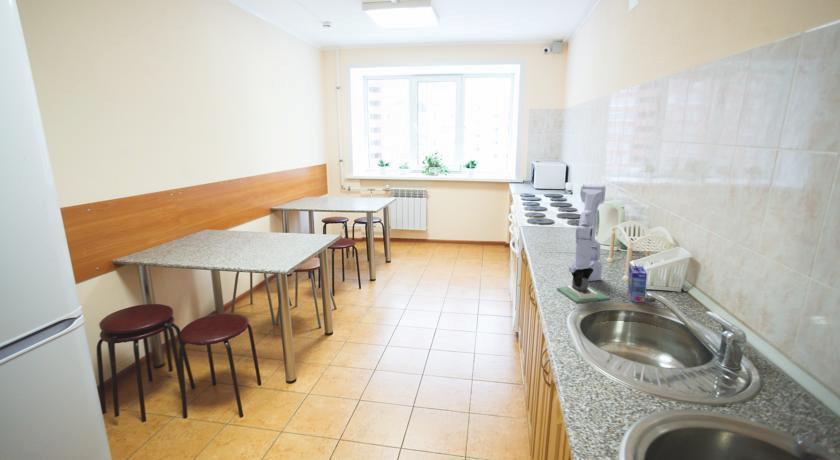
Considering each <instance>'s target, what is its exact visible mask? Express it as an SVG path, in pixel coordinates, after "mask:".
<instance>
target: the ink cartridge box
mask: <svg viewBox="0 0 840 460" xmlns="http://www.w3.org/2000/svg"><path fill="white" fill-rule="evenodd" d="M647 277H648V273H647V271H646V270H645V268H644V266H640V265H639V266H638V265H637V264H636V263H635V262H633V265H629V266H628V278H627V295H628V298H629V300H630V302H638V303H646V292H647V291H646V290H647V279H648V278H647Z"/></svg>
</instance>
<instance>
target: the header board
mask: <svg viewBox="0 0 840 460" xmlns="http://www.w3.org/2000/svg"><path fill="white" fill-rule="evenodd" d="M556 290H557V291H558V292H559V293H561V294H562V295H564V296H566V297H567V298H568V299H569V300H571V301H573V302H574V303H575V304H579V303H588V301H590V302H598V300H600V301H606V300H607V301H608V300H610V299H611V298H610V296H608V295H606V294H604V293H603V292H601V291H599V290H598V289H596V288H594V287H592V286H591V285H589V284H588V293H587V294H584V293H582V292H578V291H576V290H575V289H573V288H572V284H571V285H566V286H564V287H556Z"/></svg>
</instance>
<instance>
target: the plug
mask: <svg viewBox="0 0 840 460" xmlns="http://www.w3.org/2000/svg"><path fill="white" fill-rule="evenodd" d="M571 285H572V288H573V289H575V290H576V291H578V292H582V293H584V294H587V293H588V285H589V281H588V279H587V278H584V277H583V278H582V282H581V286H580V287H577V286H575V282H574V278H573V277H572V283H571Z"/></svg>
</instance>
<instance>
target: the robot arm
mask: <svg viewBox="0 0 840 460" xmlns="http://www.w3.org/2000/svg"><path fill="white" fill-rule="evenodd" d="M605 196H606V186H605V185H604V184H603V185H600V184H599V185H597V184H596V185H595V184H594V185H593V184H591V185H590V184H582V185H581V187H580V200H581V202H582V203H584V209H583V212H581V213H580V216H579V217H580V218H579V221H578V226H576V228H575V244H576V245H575V246H576V247H575V260H574V262H572V265H570V266H568V272H570V273H571V275H572V279H573V278H574V282H575V286H577V287H580V286H581V282H582V278H583V277H584V278H587V279H588V282H591V281H592V282H593V281H602V280H603V278H602V271H603V269H602V268H603V265H602V262H601V260H600V259H601V250H602V249H601V243H599V242H598V241H597V240H596V231H597V230H596V229H597V221H598V220H597V217H598V208H599V206H600V205H601V204H604V202H605Z"/></svg>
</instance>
